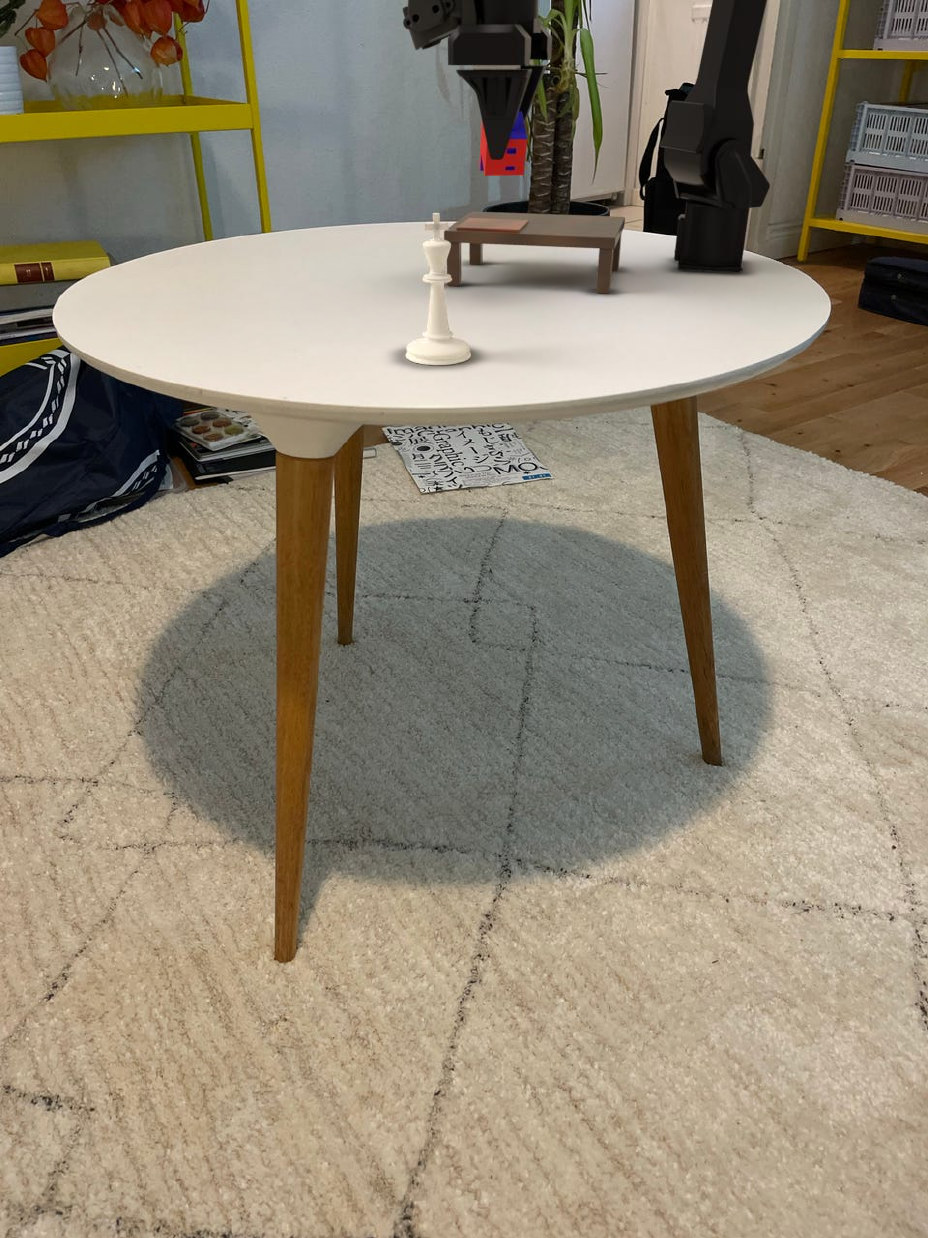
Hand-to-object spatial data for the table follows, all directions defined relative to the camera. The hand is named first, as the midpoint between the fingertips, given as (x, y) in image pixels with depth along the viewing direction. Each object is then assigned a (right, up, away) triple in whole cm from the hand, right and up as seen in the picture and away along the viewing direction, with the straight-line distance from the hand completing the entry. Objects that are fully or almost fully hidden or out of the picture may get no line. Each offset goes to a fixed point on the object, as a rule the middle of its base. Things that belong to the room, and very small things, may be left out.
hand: (502, 155), depth 87 cm
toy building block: (0, -1, +1) cm, 2 cm away
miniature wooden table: (+4, -8, +9) cm, 12 cm away
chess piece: (-5, -22, -15) cm, 27 cm away
